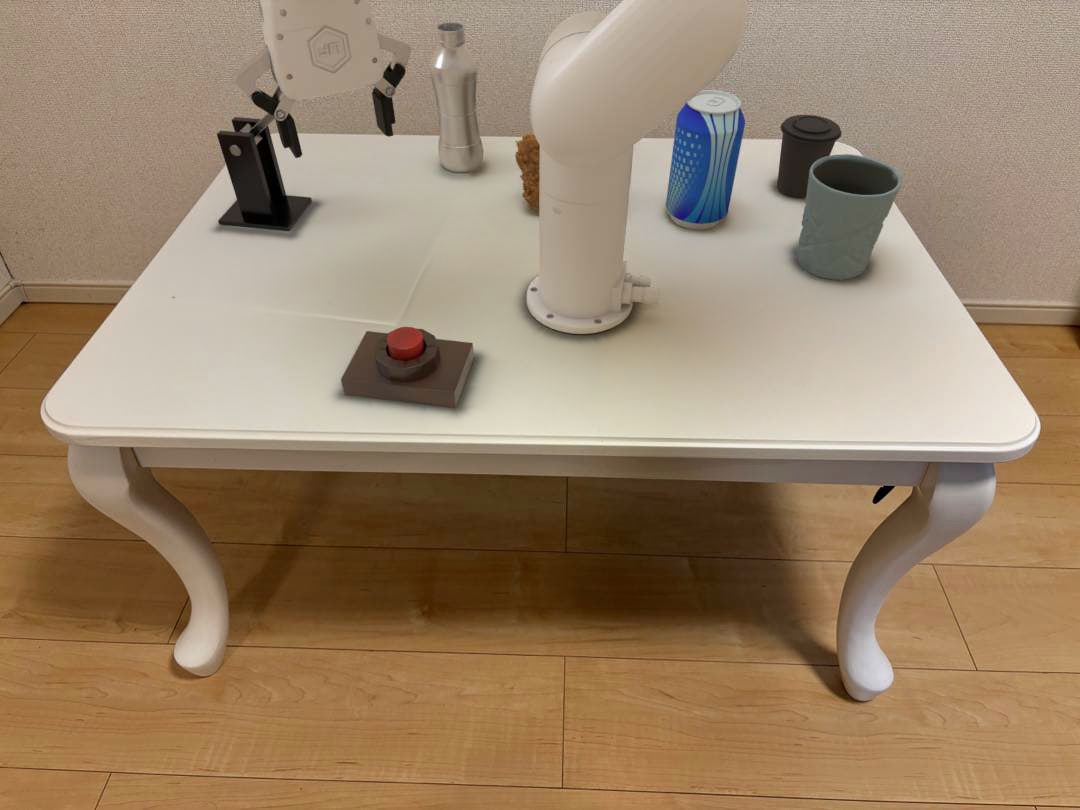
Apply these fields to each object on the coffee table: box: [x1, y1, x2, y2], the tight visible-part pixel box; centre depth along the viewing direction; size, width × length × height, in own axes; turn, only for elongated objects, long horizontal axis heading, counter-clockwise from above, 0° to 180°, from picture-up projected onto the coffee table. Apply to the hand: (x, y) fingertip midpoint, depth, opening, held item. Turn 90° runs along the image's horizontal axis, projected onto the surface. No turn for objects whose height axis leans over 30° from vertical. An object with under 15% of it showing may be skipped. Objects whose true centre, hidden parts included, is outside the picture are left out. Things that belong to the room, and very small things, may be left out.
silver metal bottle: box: [428, 22, 484, 174], centre depth 108 cm, size 6×7×20 cm
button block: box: [340, 327, 475, 409], centre depth 80 cm, size 12×8×4 cm, turn 80°
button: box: [387, 326, 424, 361], centre depth 79 cm, size 4×4×2 cm
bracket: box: [216, 116, 313, 232], centre depth 101 cm, size 10×8×13 cm
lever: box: [239, 99, 310, 145], centre depth 94 cm, size 15×3×3 cm
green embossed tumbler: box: [796, 153, 903, 281], centre depth 93 cm, size 10×10×12 cm
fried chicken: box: [514, 133, 540, 213], centre depth 102 cm, size 10×14×13 cm
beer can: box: [665, 89, 746, 230], centre depth 99 cm, size 8×8×16 cm
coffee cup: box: [776, 114, 842, 199], centre depth 106 cm, size 8×8×10 cm
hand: (341, 141), depth 79 cm, fingers open, 9 cm apart
